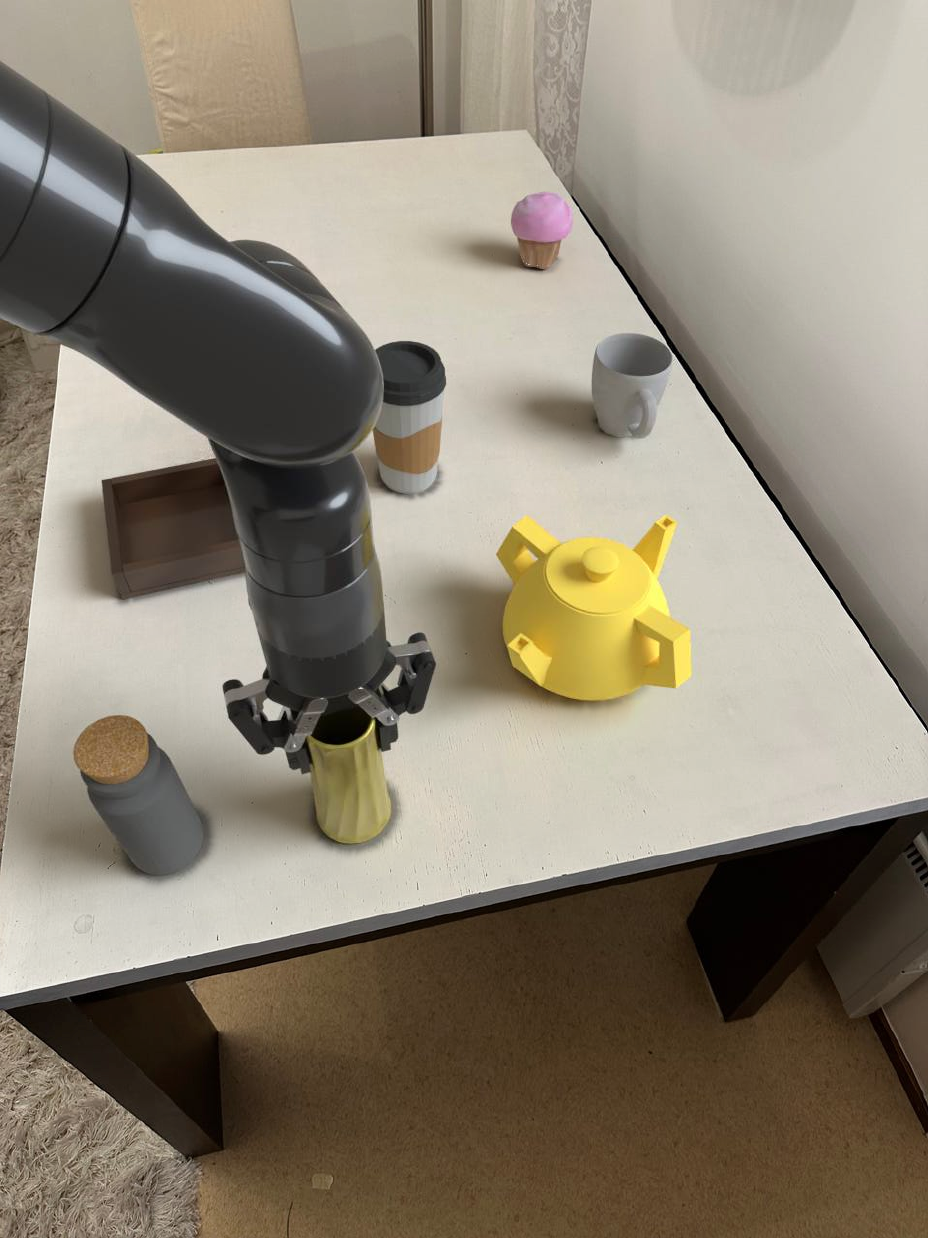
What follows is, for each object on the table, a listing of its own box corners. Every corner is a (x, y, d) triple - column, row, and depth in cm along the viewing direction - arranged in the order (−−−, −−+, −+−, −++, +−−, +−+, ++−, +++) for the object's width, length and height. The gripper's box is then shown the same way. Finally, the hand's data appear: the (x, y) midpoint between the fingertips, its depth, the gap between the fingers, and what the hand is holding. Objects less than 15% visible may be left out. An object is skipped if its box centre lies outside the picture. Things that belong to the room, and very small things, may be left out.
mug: (574, 405, 104) (585, 335, 97) (642, 397, 106) (657, 328, 98) (604, 468, 97) (618, 398, 90) (676, 459, 98) (696, 390, 91)
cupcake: (571, 253, 128) (580, 186, 120) (561, 282, 123) (570, 213, 115) (514, 245, 129) (519, 178, 122) (502, 273, 124) (506, 204, 116)
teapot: (681, 720, 75) (715, 638, 66) (496, 717, 75) (504, 634, 66) (655, 581, 86) (681, 493, 77) (492, 578, 86) (499, 489, 77)
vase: (305, 795, 70) (280, 699, 59) (373, 765, 72) (361, 667, 61) (333, 857, 67) (312, 768, 56) (403, 825, 69) (396, 732, 57)
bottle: (131, 885, 65) (63, 794, 53) (127, 817, 68) (63, 718, 57) (208, 865, 66) (158, 771, 54) (201, 800, 70) (153, 698, 58)
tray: (122, 600, 83) (111, 574, 80) (112, 506, 91) (101, 479, 88) (264, 568, 86) (258, 541, 83) (241, 480, 94) (235, 453, 91)
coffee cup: (415, 443, 99) (412, 328, 87) (460, 480, 95) (463, 365, 83) (357, 472, 96) (346, 356, 84) (401, 512, 92) (396, 397, 80)
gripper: (202, 685, 45) (255, 825, 58) (456, 621, 48) (452, 767, 61) (184, 585, 50) (237, 736, 63) (418, 532, 53) (422, 687, 66)
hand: (344, 751), depth 62 cm, fingers closed on vase, 5 cm apart
